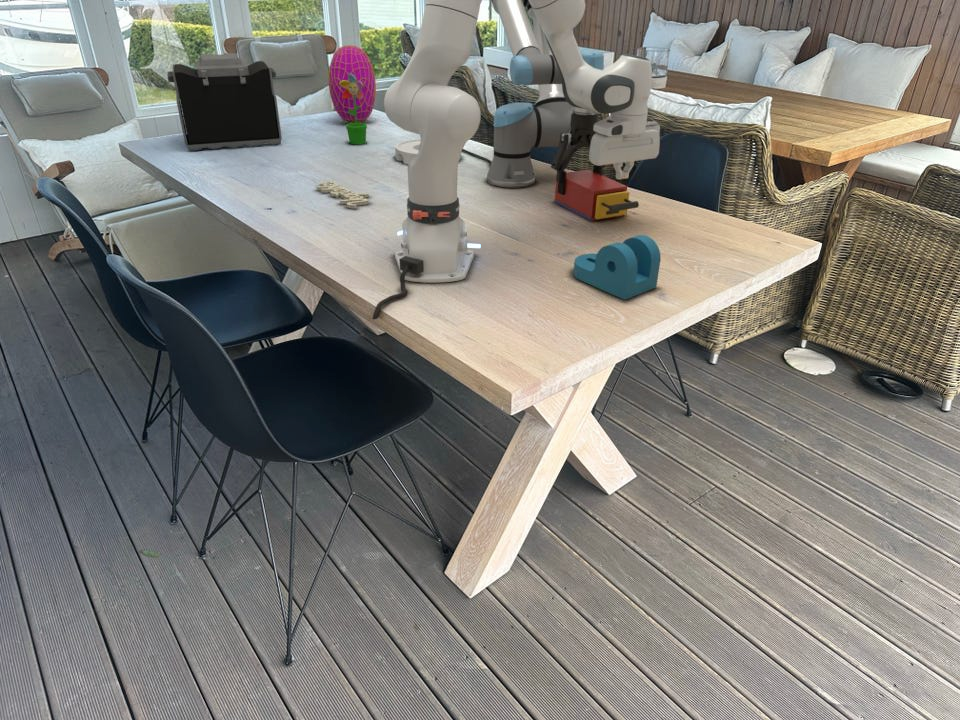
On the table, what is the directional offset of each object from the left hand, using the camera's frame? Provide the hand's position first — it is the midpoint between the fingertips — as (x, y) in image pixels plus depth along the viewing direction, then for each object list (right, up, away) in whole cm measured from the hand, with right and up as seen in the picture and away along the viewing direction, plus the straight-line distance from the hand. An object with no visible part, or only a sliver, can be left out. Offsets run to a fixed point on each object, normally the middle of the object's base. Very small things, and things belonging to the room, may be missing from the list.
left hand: (621, 178), depth 180 cm
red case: (-6, -4, +16) cm, 18 cm away
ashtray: (-56, +24, +63) cm, 88 cm away
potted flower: (-84, +35, +81) cm, 122 cm away
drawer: (-4, -6, +12) cm, 14 cm away
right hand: (-9, +1, +19) cm, 21 cm away
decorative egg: (-91, +54, +113) cm, 154 cm away
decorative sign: (-78, +1, +24) cm, 82 cm away
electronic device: (-131, +35, +81) cm, 158 cm away
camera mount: (-8, -30, -27) cm, 41 cm away
